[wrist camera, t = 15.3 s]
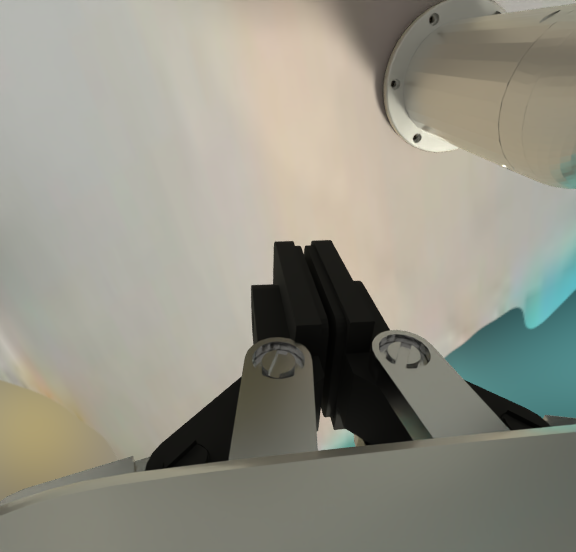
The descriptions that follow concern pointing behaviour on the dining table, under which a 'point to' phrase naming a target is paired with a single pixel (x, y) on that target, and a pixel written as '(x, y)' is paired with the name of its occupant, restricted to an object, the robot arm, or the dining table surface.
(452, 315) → the dining table surface
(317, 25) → the dining table surface
